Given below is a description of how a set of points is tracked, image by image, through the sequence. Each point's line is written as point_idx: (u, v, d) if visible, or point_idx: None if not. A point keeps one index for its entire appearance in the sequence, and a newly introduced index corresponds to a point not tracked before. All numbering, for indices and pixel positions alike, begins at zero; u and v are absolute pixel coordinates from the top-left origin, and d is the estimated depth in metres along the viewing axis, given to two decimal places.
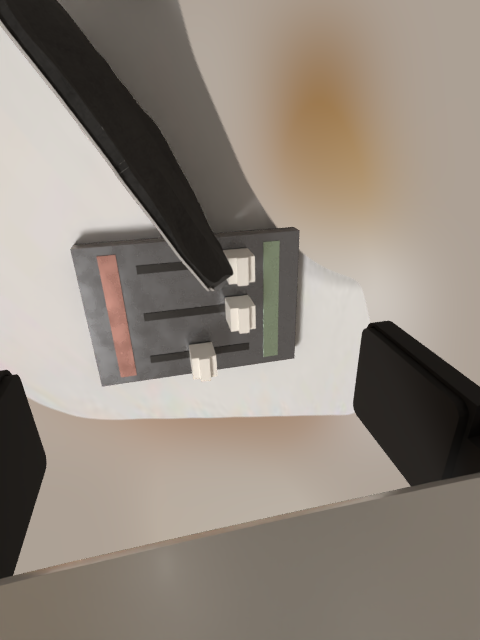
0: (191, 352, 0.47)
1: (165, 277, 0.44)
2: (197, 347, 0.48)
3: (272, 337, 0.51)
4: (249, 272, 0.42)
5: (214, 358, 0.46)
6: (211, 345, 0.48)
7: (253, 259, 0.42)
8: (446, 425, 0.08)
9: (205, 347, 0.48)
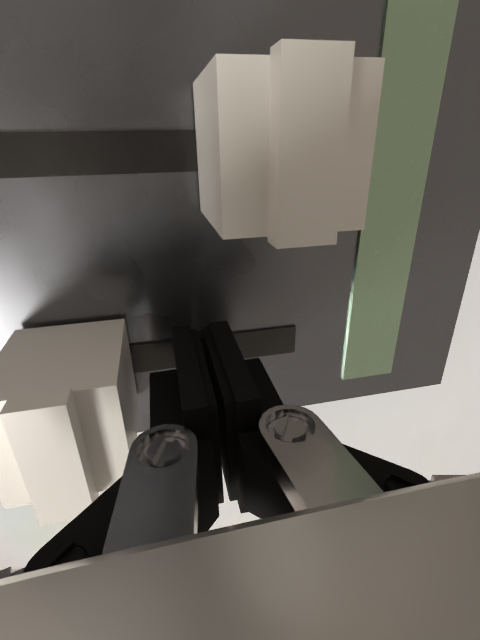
0: None
1: None
2: (46, 341, 0.10)
3: (384, 307, 0.13)
4: None
5: (108, 401, 0.08)
6: (116, 333, 0.10)
7: None
8: (225, 421, 0.08)
9: (83, 341, 0.10)
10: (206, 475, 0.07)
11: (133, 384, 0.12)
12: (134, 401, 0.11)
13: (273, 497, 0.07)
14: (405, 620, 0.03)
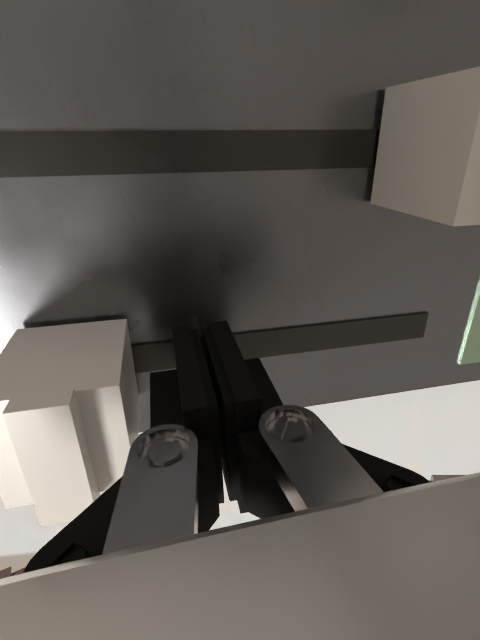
0: None
1: None
2: (48, 340, 0.10)
3: None
4: None
5: (111, 401, 0.08)
6: (118, 333, 0.10)
7: None
8: (224, 421, 0.08)
9: (85, 341, 0.10)
10: (206, 475, 0.07)
11: (134, 384, 0.12)
12: (135, 401, 0.11)
13: (273, 497, 0.07)
14: (405, 620, 0.03)
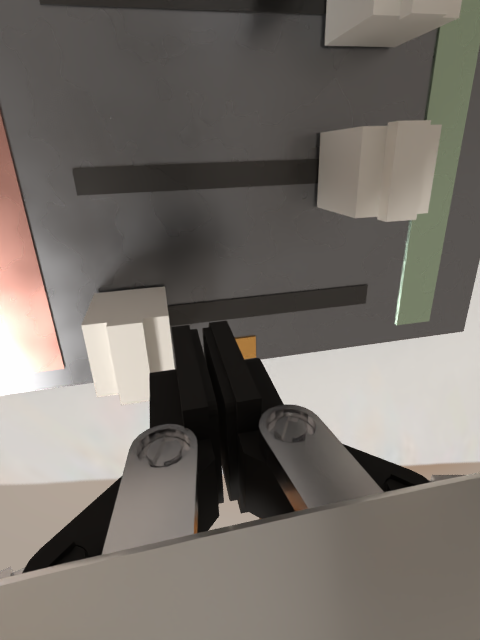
0: (91, 309, 0.15)
1: (141, 34, 0.13)
2: (117, 298, 0.16)
3: (425, 272, 0.20)
4: None
5: (163, 325, 0.14)
6: (161, 293, 0.16)
7: None
8: (225, 421, 0.08)
9: (141, 297, 0.16)
10: (206, 475, 0.07)
11: None
12: None
13: (273, 497, 0.07)
14: (405, 620, 0.03)
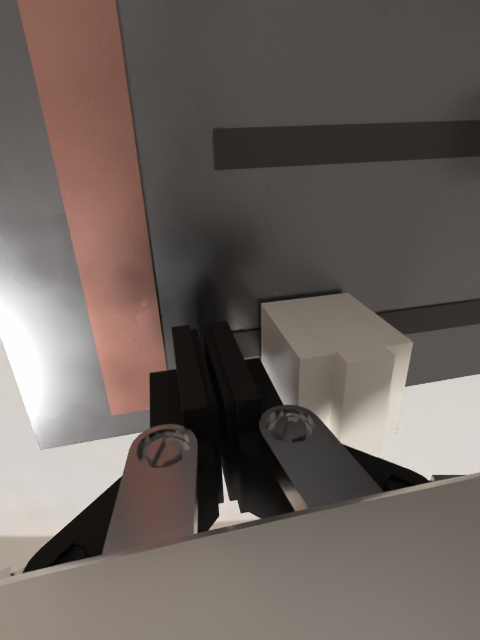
0: (285, 329, 0.10)
1: None
2: (302, 311, 0.11)
3: None
4: None
5: (402, 356, 0.10)
6: (356, 303, 0.12)
7: None
8: (225, 421, 0.08)
9: (336, 310, 0.11)
10: (206, 475, 0.07)
11: None
12: None
13: (273, 497, 0.07)
14: (405, 620, 0.03)
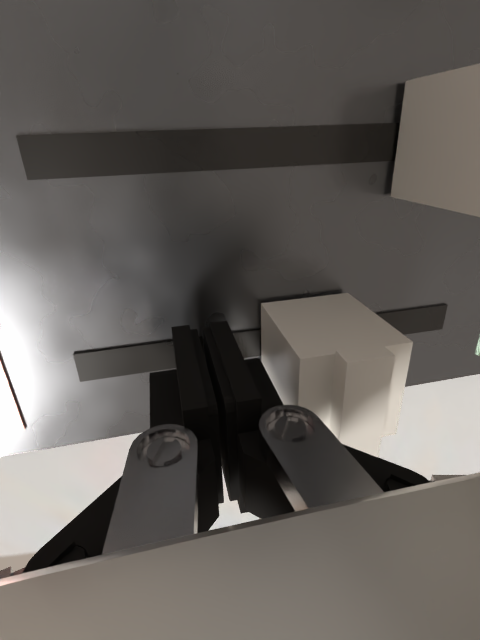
0: (285, 329, 0.10)
1: None
2: (302, 311, 0.11)
3: None
4: None
5: (402, 356, 0.10)
6: (356, 303, 0.12)
7: None
8: (224, 421, 0.08)
9: (336, 310, 0.11)
10: (206, 475, 0.07)
11: None
12: None
13: (273, 497, 0.07)
14: (405, 620, 0.03)
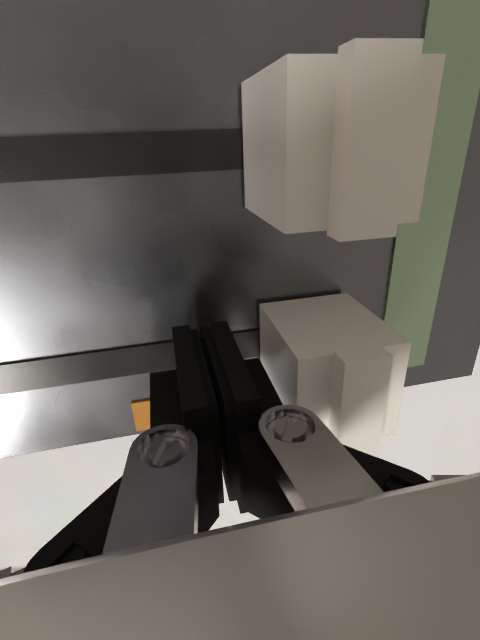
0: (283, 330, 0.10)
1: None
2: (300, 311, 0.11)
3: (419, 300, 0.13)
4: None
5: (401, 356, 0.10)
6: (355, 304, 0.12)
7: None
8: (224, 421, 0.08)
9: (334, 311, 0.11)
10: (206, 475, 0.07)
11: None
12: None
13: (273, 497, 0.07)
14: (405, 620, 0.03)
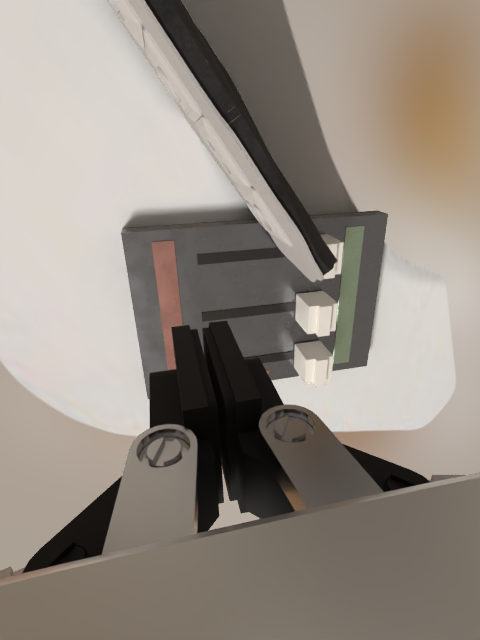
0: (302, 352, 0.40)
1: (230, 269, 0.37)
2: (306, 346, 0.41)
3: (345, 341, 0.44)
4: None
5: (331, 359, 0.40)
6: (321, 344, 0.42)
7: (341, 246, 0.34)
8: (225, 421, 0.08)
9: (315, 346, 0.41)
10: (206, 475, 0.07)
11: None
12: None
13: (273, 497, 0.07)
14: (405, 620, 0.03)
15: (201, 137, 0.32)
